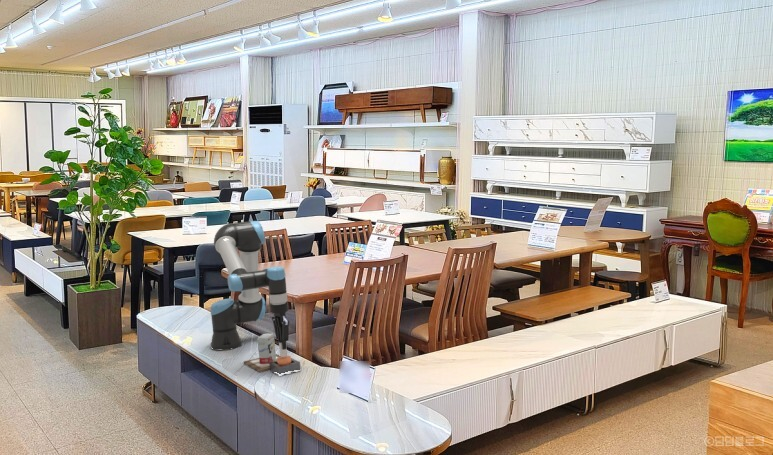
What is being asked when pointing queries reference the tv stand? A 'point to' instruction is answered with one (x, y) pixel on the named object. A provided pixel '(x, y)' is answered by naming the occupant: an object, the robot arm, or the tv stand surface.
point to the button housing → (284, 366)
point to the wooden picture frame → (258, 364)
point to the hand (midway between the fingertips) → (283, 356)
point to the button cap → (284, 360)
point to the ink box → (266, 348)
